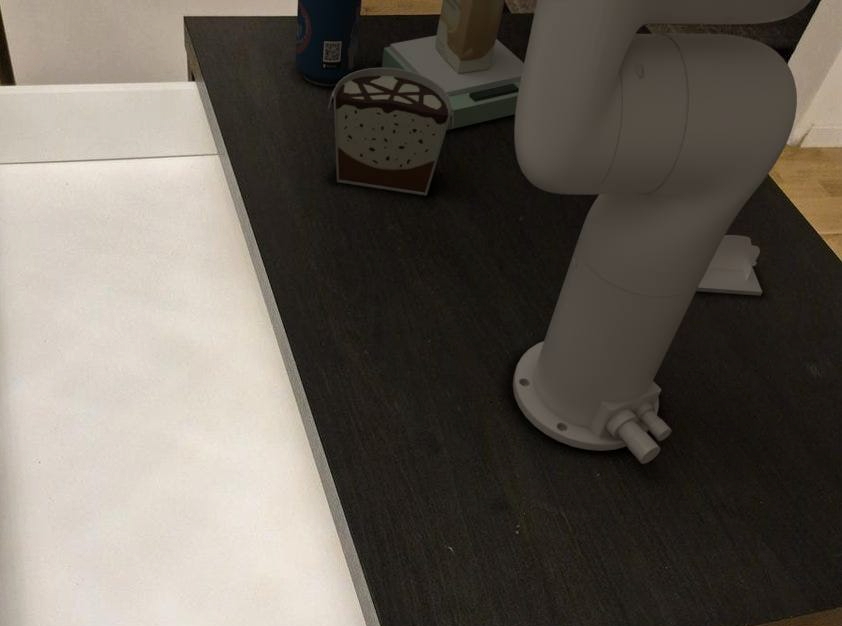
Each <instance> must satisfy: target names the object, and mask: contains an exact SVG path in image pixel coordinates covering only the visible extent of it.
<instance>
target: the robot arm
mask: <svg viewBox="0 0 842 626" xmlns="http://www.w3.org/2000/svg"><path fill="white" fill-rule="evenodd" d="M811 1H812V0H536V3H535V4H536V5H535V9H534V14H533V19H532V23H531V29H530V34H529V38H528V44H527V48H526V53H525V58H524V62H523V63H524V67H523V72H522V77H521V82H520V87H519V93H518V99H517V106H516V113H515V114H514V131H513V133H514V134H513V136H514V138H513V139H514V151H515V155H516V160H517V164H518V166H519V168H520V171H521V172H522V174H523V176H524V177H525V178H526V179H527V181H528V182H529V183H530V184H532V185H533V186H534V187H536V188H538V189H540V190H542V191H544V192H548V193H551V194H558V195H576V196H577V195H582V196H583V195H584V196H587V195H589V196H590V195H591V196H592V195H593V196H594V195H597V197H596V199H595V200H594V202H593V203H592V205H591V206H590V209H589V211H588V213H587V215H586V217H585V219H584V222H583V225H582V227H581V229H580V230H581V231H580V234H579V236H578V238H577V242H576V245H575V248H574V251H573V254H572V256H571V260H570V263H569V266H568V269H567V272H566V275H565V278H564V281H563V284H562V286H561V290H560V291H559V292H560V293H559V295H558V297H557V298H558V299H557V301H556V305H555V307H554V311H553V313H552V316H551V319H550V322H549V325H548V329H547V331H546V334H545V338H544V340H543V341H541V342H538V343H536V344H535V345H533V346H531V347H530V348H528V349H527V350H526V352H524V353H523V355H522V356H521V357H520V359H519V361H518V362H517V365H516V368H515V369H514V370H515V371H514V374H513V380H512V388H513V389H512V390H513V395H514V399H515V401H516V403H517V405H518V408H519V409H520V411H521V412H522V414H523V415H524V417H525V418H526V419H527V420H528V421H529V422H530V423H531V424H532V425H533V426H534V427H535V428H537V429H538V430H539V431H541V432H542V433H543V434H544V435H546V436H548V437H550V438H551V439H553V440H555V441H557V442H559V443H561V444H565V445H567V446H570V447H572V448H578V449H582V450H587V451H598V452H599V451H600V452H603V451H613V450H619V449H622V448H626V447H627V450H629V451H630V452H631V454H632V455H633V456H634V457H635V458H636V460H637V461H638V462H639V463H640V464H642V465H645V464H647V463H650V462H651V461H652V460H654V459H655V458H656V457H657V456H658V455H659V454H660V452H661V449H662V448H661V447H660V446H659V445H658V444H657V442H656V441H654V439H653V438H652V437H651V436H650V435H649V434H648V432H650V433H651V434H652V436H653V437H654V438H655V439H656V440H657V441H658V442H661V441H664V440H665V439H666V438H668V437H669V436H670V435H671V433H672V431H673V430H672V429H671V427H670V426H669V425H668V424H667V423H666V422H665V421H664V420H663V419H662V418H660V417H659V416H658V413H659V408H660V399H659V396H660V394H661V392H662V389H661V387H660V386H659V385H658V384H657V383H656V382H655V381H654V380H655V378H656V375H657V373H658V371H659V369H660V367H661V365H662V363H663V361H664V359H665V357H666V354H667V352H668V350H669V348H670V346H671V344H672V342H673V340H674V338H675V336H676V333H677V332H678V329H679V327H680V326H681V323H682V321H683V320H684V317H685V315H686V313H687V311H688V309H689V307H690V305H691V303H692V300H693V298H694V296H695V294H696V292H697V291H696V290H697V288H698V286H699V284H700V282H701V281H702V279H703V277H704V275H705V273H706V271H707V269H708V267H709V265H710V263H711V261H712V259H713V257H714V254H715V253H716V251H717V249H718V247H719V245H720V243H721V241H722V239H723V237H724V236H725V235H727V232H728V231H729V229H730V227H731V225H732V224H733V223H734V221H735V219H736V217H737V216H738V215H739V213H740V212H741V210H743V209H742V208H743V207H744V206H745V205H746V203H747V202H748V201H749V199H750V198H751V197H752V196H753V194H754V193H755V192H756V191H757V190H758V188H759V187H760V186H761V184H762V183H763V182H764V181H765V180H766V178H767V176H768V175H769V173H770V172H771V171H772V169H773V168H774V167H775V166H776V164H777V162H778V160H779V158H780V157H781V155H782V153H783V151H784V150H785V148H786V145H787V144H788V141H789V138H790V136H791V133H792V131H793V127H794V123H795V119H796V113H797V107H798V94H797V93H798V92H797V85H796V80H795V77H794V75H793V72H792V70H791V68H790V66H789V64H788V63H787V62H786V60H785V59H784V58H783V57H782V56H781V55H780V54H779V52H777V51H776V50H775V49H773V48H772V47H770V46H769V45H766V44H765V43H764V42H761V41H758V40H755V39H753V38H748V37H745V36H740V35H734V34H723V33H694V32H693V33H690V32H689V33H685V32H683V33H682V32H680V33H679V32H657V33H637V32H638V31H639V30H640V28H642V27H643V26H645V25H650V24H654V25H655V24H658V25H659V24H660V25H661V24H663V25H664V24H666V25H667V24H668V25H669V24H670V25H754V24H755V25H756V24H757V25H758V24H766V23H773V22H777V21H781V20H783V19H787V18H789V17H791V16H794V15H796V14H797V13H799V12H800V11H801V10H803V9H804V8H806V7H807V5H808V4H810V2H811Z"/></svg>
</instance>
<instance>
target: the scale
mask: <svg viewBox="0 0 842 626" xmlns="http://www.w3.org/2000/svg"><path fill="white" fill-rule="evenodd" d="M436 36H437V34H436V35H431V36H426V37H420V38H415V39H410V40H405V41H399V42H393V43H390V45H389V46H386V47H383V54H382V61H381V68H395V69H402V70H407V71H410V72H414V73H417V74H419V75H422V76H424V77H426V78H428V79H430V80H432V81H434V82H435V83H437V84H438V85H439V86H440V87H442V88H443V89H444V91H445V92H446V93H447V94H448V96H449V98H450V100H451V103H452V108H453V115H454V129H458V128H463V127H467V126H471V125H476V124H480V123H483V122H484V123H485V122H487V121H492V120H496V119H501V118H504V117H509V116H515V113H516V106H517V99H518V93H519V87H520V82H521V77H522V72H523V67H524V62H523V61H522V59H521V60H520V58H518V57H517V56H516V54H514V53H513V52H512V51H511V50H510V49H508V48H507V47H506V45H504V44H503V43H502V42H500V40H499V39H497V38H496V41H495V46H494V50H493V55H492V59H491V63H490V68H489V69H487V70H480V71H473V72H466V73H457V72H456V71H455V70H454V68H453V67H452V66H451V65H450V64H449V63H448V62H447V60H446V59H445V58H444V57H443V56H442V54H441V53H440V52H439V51H438V49H437V48H436V47H435V42H436ZM450 130H453V129H452V122H451V119H450V120H449V123H448V126H447V130H446V131H450Z"/></svg>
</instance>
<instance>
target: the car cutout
mask: <svg viewBox="0 0 842 626" xmlns="http://www.w3.org/2000/svg"><path fill="white" fill-rule="evenodd" d="M760 249H761V248H759V246H757V245H753V244H752V239H751V237H749V236H746V235H736V234H725V236H724V237H723V239H722V241H721V243H720V245H719V247H718V249H717V251H716V253H715V254H714V257H713V259H712V261H711V263H710V265H709V267H708V269H707V271H706V273H705V275H704V277H703V279H702V281H701V282H700V284H699V286H698V288H697V290H696V292H701V293H703V292H705V293H716V294H717V293H719V294H730V295H731V294H732V295H733V294H735V295H745V296H747V295H749V296H759V297H760V296H761V295H762V294H763V290H762V288H761V285H760V283H759V280H758V277H757V275H756V272H755V270H754V267H755V266H757V264H758V262H757V261H756V260H757V259H758V258H759V255H760V253H761V250H760Z"/></svg>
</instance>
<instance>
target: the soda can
mask: <svg viewBox="0 0 842 626" xmlns="http://www.w3.org/2000/svg"><path fill="white" fill-rule="evenodd" d="M361 9H362V0H297V10H296V12H297V13H296V34H295V35H296V37H295V38H296V40H295V63H296V66H297V69H298V70H299V72H300V74H301V75H302V77H303V78H304V79H305V80H306V81H308V82H309V83H311V84H314V85H317V86H322V87H336V85H337V84H338V82H339V81H340V80H341V79H343V78H344V77H345V76H347V75H349V74H351V73H353V72H355V70H356V68H357V58H358V57H357V56H358V46H359V35H360V24H361V13H362V12H361V11H362V10H361Z"/></svg>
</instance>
